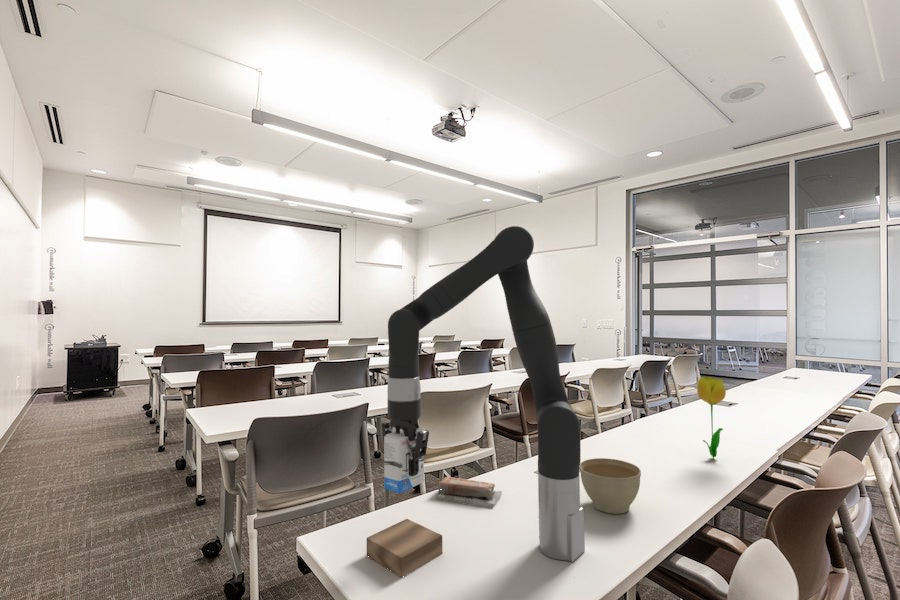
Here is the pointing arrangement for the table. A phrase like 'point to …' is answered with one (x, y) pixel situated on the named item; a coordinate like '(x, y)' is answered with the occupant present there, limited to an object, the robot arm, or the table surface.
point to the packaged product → (468, 492)
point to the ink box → (399, 464)
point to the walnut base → (404, 547)
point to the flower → (712, 394)
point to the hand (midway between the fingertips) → (404, 471)
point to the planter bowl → (610, 483)
